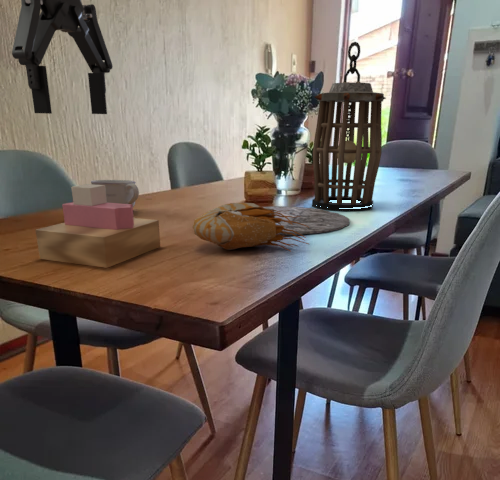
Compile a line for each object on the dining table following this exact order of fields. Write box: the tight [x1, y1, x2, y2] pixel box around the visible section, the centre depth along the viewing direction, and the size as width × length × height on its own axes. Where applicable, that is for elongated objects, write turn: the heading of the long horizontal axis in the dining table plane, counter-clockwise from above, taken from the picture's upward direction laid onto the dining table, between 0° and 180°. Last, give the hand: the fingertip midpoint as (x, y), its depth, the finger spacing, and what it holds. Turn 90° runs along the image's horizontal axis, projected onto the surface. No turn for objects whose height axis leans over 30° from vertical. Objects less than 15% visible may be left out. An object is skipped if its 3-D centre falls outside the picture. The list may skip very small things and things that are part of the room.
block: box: [35, 217, 161, 269], centre depth 90 cm, size 14×16×5 cm
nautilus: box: [192, 202, 311, 252], centre depth 93 cm, size 8×22×15 cm
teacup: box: [90, 179, 140, 208], centre depth 127 cm, size 14×11×8 cm
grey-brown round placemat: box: [264, 205, 351, 237], centre depth 121 cm, size 33×35×1 cm
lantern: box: [311, 41, 387, 213], centre depth 133 cm, size 19×19×40 cm
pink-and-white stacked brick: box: [61, 183, 135, 230], centre depth 88 cm, size 12×5×6 cm, turn 67°
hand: (73, 114), depth 84 cm, fingers open, 13 cm apart
